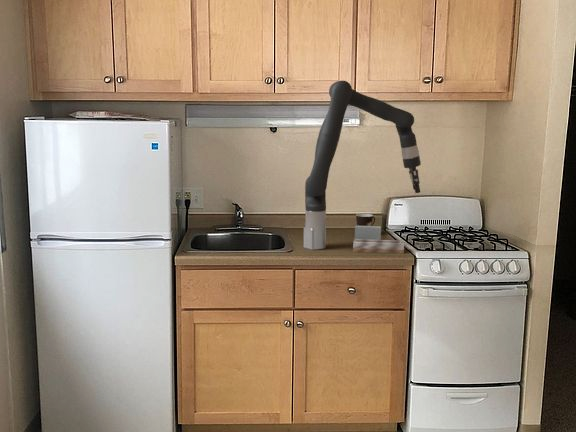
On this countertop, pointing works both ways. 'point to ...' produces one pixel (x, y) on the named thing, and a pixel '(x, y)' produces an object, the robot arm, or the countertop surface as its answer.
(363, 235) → the blue-gray rectangular block
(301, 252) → the countertop surface
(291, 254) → the countertop surface
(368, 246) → the track base
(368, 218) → the coffee mug
